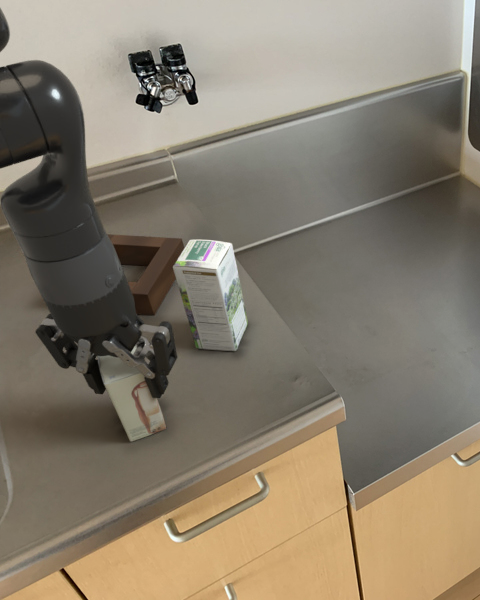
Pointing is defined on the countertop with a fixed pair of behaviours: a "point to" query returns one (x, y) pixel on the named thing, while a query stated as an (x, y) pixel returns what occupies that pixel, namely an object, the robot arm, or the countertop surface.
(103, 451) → the countertop surface
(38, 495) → the countertop surface
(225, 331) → the syrup box
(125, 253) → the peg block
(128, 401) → the white product box
